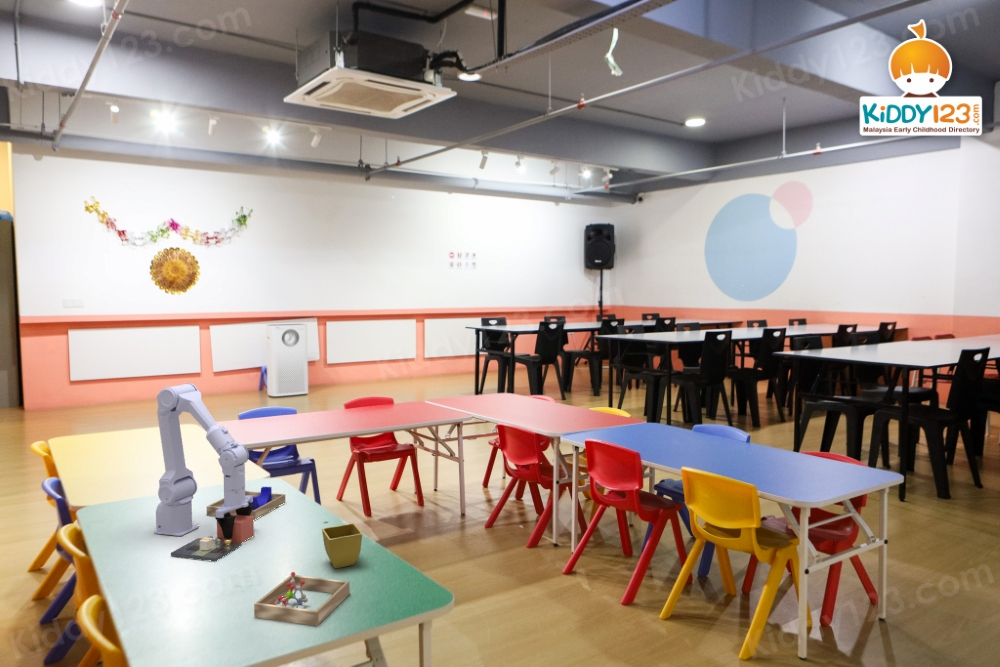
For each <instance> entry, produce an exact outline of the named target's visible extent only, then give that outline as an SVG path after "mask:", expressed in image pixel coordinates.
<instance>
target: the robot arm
mask: <svg viewBox="0 0 1000 667" xmlns="http://www.w3.org/2000/svg"><path fill="white" fill-rule="evenodd" d="M156 400H157V413H156V414H157V421H158V427H159V434H160V435H159V436H160V442H161V443H160V444H161V448H162V457H163V463H164V470H165V471H164V473H163V474H162V476H161V477H160V478H159V480H158V483H159V487H158V491H157V495H158V499H159V500H160V502H159V503H158V505H157V506H156V509H155V531H153V532H154V534H158V535H167V536H175V537H182V536H185V535H186V534H188V533H190V532H193V531H194V530H195V529H196V530H197V529H198V528H199V527H200V526H199V524H193V512H192V511H193V508H192V502H193V501H192V500H193V499H194V495H195V494H196V493H197V491H198V483H197V481H196V479H195V478H194V473H193V471H192V470H190V469H189V468H187V465H186V458H185V452H184V444H183V438H182V431H181V425H180V424H181V423H180V417H179V416H180V415H181V414H183V412H184V413H189V414H191V416H192V417H193V418H194V419H195V421H196V422H197V423H198V424H199V425H200V426H201V427H202V428H203V430H204V431H206V434H205V435H206V436H205V439H206V440H207V442H208V443H209V444H210V445H211V447H212V448H213V449H214V450H215V452H216V453H217V455H218V456H219V458H217V460H218V463H219V465H220V467H221V470H222V471H221V472H222V474H223V498H224V504H223V505H222V506H221V507H220V508H219V509H218V510H216V515H215V517H214V519H215V520H216V522H217V521H218V523H219V525H220V527H221V529H222V532H223V535H224V538H226V539H231V538H232V535H233V524H234V521H235V518H236V516H233V515H231V514H230V512H232V511H234V510H235V511H236V514H237V515H245V516H250V514H251V512H252V510H253V508H254V504H250V503H251V502H253V496H252V495H246V496H245V491H246V469H245V468H246V467H245V466H246V463H247V462H248V460H249V458H250V454H249V450H248V448H247V447H246V446H245V445H244V444H241V443H239V442H237V441H236V440H235V439H234V438H233V437H232V434H231V433H229V430H228V428H227V427H225V426H224V425H221V424H220V425H219V424H218V423H217V422H216V420H215V419H214V417H213V416H212V414H211V412H210V411H209V409H208V408H207V406H206V405H205V403H204V401H203V400H202V392H200V390H199V389H198V387H197V386H196V385H195V384H193V383H192V382H188V383H184V384H179V385H173V386H166V387H163V388H162V389H161V390H159V392H158V394H157V395H156Z"/></svg>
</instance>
